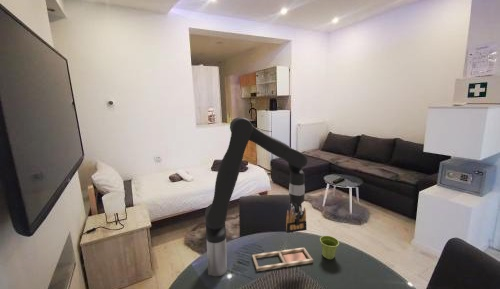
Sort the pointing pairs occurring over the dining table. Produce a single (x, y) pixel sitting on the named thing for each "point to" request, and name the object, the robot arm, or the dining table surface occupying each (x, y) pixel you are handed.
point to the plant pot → (329, 246)
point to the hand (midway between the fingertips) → (296, 223)
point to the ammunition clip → (291, 222)
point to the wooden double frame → (287, 260)
